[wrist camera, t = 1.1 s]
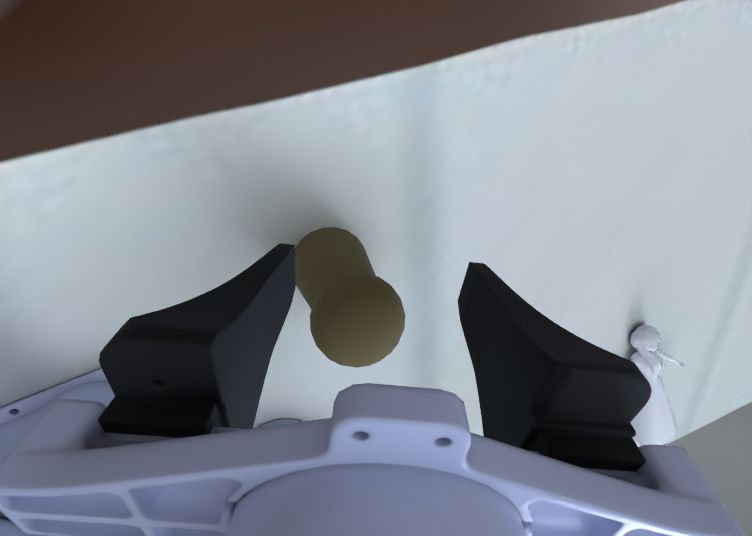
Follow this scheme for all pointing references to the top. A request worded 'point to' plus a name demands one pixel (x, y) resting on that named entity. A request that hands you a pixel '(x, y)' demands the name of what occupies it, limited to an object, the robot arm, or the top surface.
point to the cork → (347, 299)
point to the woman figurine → (657, 414)
